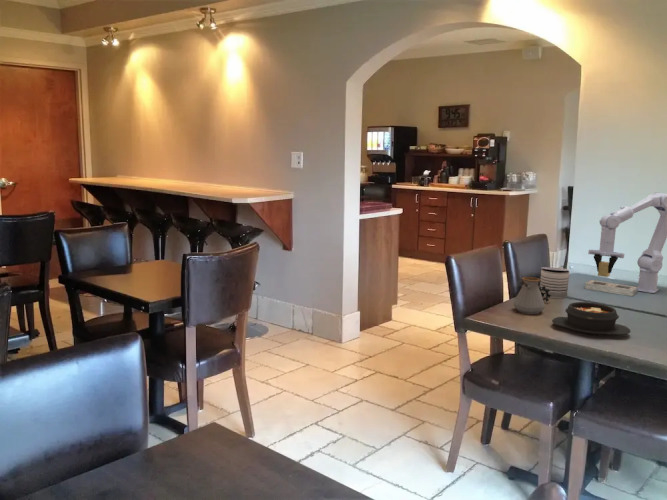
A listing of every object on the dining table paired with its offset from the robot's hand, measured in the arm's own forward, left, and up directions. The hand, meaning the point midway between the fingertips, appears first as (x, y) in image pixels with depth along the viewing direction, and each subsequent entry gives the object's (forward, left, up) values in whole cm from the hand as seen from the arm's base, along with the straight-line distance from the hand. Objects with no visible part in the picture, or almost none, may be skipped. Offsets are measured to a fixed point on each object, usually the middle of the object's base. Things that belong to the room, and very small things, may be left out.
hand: (604, 272), depth 268 cm
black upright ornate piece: (+46, -13, -9) cm, 49 cm away
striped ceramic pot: (+26, -13, -9) cm, 30 cm away
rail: (-2, +3, -8) cm, 9 cm away
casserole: (+69, +15, -9) cm, 71 cm away
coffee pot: (+64, -10, -9) cm, 66 cm away
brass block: (0, 0, -2) cm, 2 cm away
